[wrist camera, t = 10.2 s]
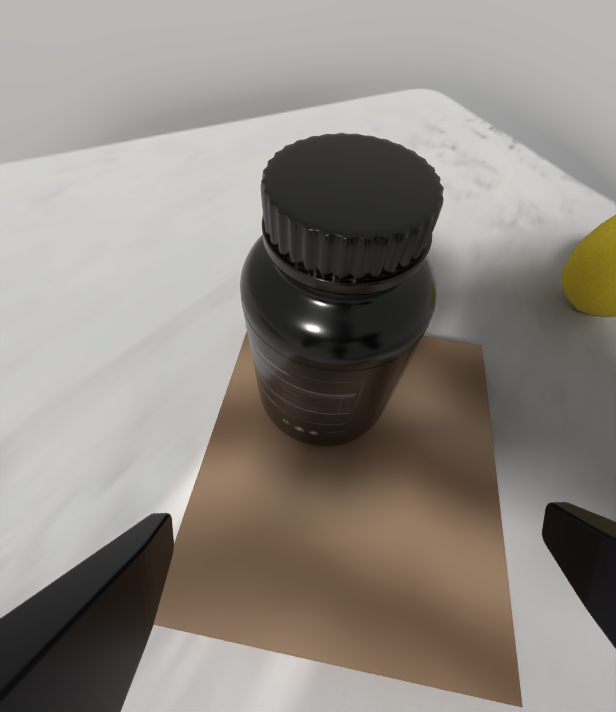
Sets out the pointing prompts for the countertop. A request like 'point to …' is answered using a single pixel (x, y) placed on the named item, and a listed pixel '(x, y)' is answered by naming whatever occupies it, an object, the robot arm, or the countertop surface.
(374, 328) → the supplement bottle
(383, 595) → the walnut board
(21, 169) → the countertop surface
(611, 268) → the lemon
